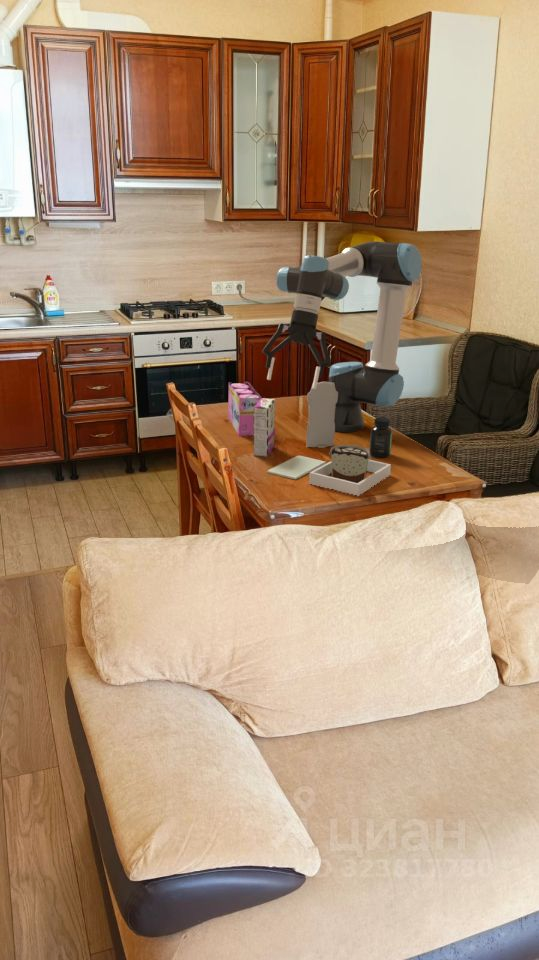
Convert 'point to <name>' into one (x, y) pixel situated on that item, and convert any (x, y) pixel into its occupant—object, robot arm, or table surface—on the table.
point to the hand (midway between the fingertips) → (291, 384)
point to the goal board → (296, 467)
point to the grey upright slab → (321, 415)
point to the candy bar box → (264, 427)
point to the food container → (349, 462)
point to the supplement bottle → (380, 438)
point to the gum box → (242, 407)
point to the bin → (322, 480)
